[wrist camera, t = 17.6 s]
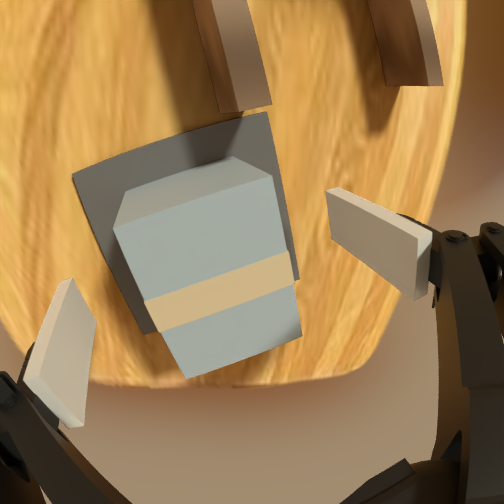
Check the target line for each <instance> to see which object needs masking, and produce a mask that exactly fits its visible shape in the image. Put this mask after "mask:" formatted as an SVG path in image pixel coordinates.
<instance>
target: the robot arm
mask: <svg viewBox="0 0 504 504" xmlns="http://www.w3.org/2000/svg"><path fill="white" fill-rule="evenodd" d="M325 192H326V199H327V206H328V214H329V222H330V230H331V238H332V240H334V241H335V242H337V243H338V244H339V245H341V246H342V247H343V248H345V249H346V250H347V251H349V252H350V253H351V254H353V255H354V256H355V257H357V258H358V259H359V260H361V261H362V262H363V263H365V264H366V265H367V266H369V267H370V268H371V269H373V270H374V271H375V272H377V273H378V274H379V275H380V276H382V277H383V278H384V279H386V280H387V281H388V282H390V283H391V284H392V285H393V286H395V287H396V288H397V289H398V290H400V291H401V292H402V293H404V294H405V295H406V296H407V297H409V298H410V299H411V300H412V301H416V300H417V299H419V298H421V297H422V296H424V295H426V294H427V291H428V282H429V281H430V282H431V283H432V284H434V285H435V289H434V297H433V304H432V308H434V307H435V309H436V320H437V334H438V358H439V399H438V423H437V424H438V425H437V436H436V442H435V445H434V449H433V452H432V457H431V460H427V461H421V462H417V463H413V464H409V463H408V462H407V460H406V459H405V458H404V459H403V460H401V461H399V462H398V463H396V464H395V465H393V466H392V467H390V468H388V469H386V470H385V471H383V472H381V473H379V474H378V475H376V476H374V477H373V478H371V479H369V480H368V481H366V482H365V483H364V484H363V485H362V486H361V487H359V488H358V489H357V490H356V491H355V492H354V493H353V494H351V495H350V496H349V497H347V498H346V499H345V500H344V501H342V502H341V503H340V504H504V344H503V339H502V336H503V338H504V226H502V225H500V224H498V223H494V222H489V223H488V222H487V223H483V224H482V225H481V227H480V234H479V236H475V237H469V236H468V235H467V234H466V233H464V232H461V231H456V230H448V231H445V232H442V233H440V232H438V231H437V230H435V229H433V228H431V227H429V226H427V225H425V224H422V223H421V222H419V221H415V219H413V218H411V217H409V216H406V215H402V214H397V213H394V212H392V211H390V210H388V209H385V208H383V207H381V206H379V205H377V204H375V203H373V202H371V201H368V200H366V199H364V198H362V197H360V196H357V195H355V194H353V193H351V192H348V191H346V190H344V189H342V188H339V187H336V188H333V189H329V190H326V191H325ZM501 270H502V276H501V275H500V273H501ZM96 324H97V321H96V319H95V318H94V316H93V314H92V313H91V311H90V309H89V307H88V306H87V304H86V302H85V300H84V298H83V296H82V295H81V293H80V291H79V289H78V287H77V285H76V283H75V281H74V280H73V278H69V279H67V280H64V281H62V282H60V283H59V285H58V287H57V290H56V292H55V294H54V296H53V299H52V301H51V303H50V306H49V308H48V311H47V313H46V316H45V318H44V321H43V323H42V326H41V328H40V331H39V334H38V336H37V339H36V342H34V343H33V344H32V346H31V347H30V348H29V350H28V352H27V354H26V357H25V361H24V363H23V366H22V367H23V368H22V369H21V372H20V375H19V378H18V381H17V384H16V383H15V382H14V381H13V379H12V378H11V377H10V376H9V374H8V373H7V372H5V371H1V372H0V504H46V502H45V500H44V497H43V494H42V491H41V489H40V487H41V488H42V490H43V491H44V493H45V494H46V495H47V497H48V498H49V500H50V501H51V503H52V504H132V503H131V502H130V501H129V500H128V499H127V498H125V497H124V496H123V495H122V494H121V493H120V492H119V491H118V490H117V489H116V488H114V487H113V486H112V485H111V484H110V483H109V482H108V481H107V480H106V479H105V478H104V477H103V476H102V475H101V474H100V473H99V472H98V471H97V470H96V469H95V468H94V467H93V466H92V465H91V464H90V463H89V461H88V460H86V458H85V457H84V456H83V455H82V454H81V453H80V452H79V451H78V449H77V448H76V447H75V446H74V445H73V444H72V443H71V442H70V440H69V439H68V438H67V437H66V435H65V434H64V433H63V432H62V431H61V430H59V428H58V425H59V420H60V421H61V422H62V423H63V424H64V425H65V426H66V427H67V428H68V429H70V428H75V427H80V426H84V423H85V409H86V398H87V388H88V379H89V370H90V363H91V355H92V349H93V342H94V336H95V330H96ZM501 334H502V335H501ZM39 485H40V486H39Z"/></svg>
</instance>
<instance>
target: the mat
mask: <svg viewBox="0 0 504 504" xmlns="http://www.w3.org/2000/svg"><path fill="white" fill-rule="evenodd" d="M232 156H233V157H235V158H237V159H239V160H241V161H243V162H246V163H248V164H250V165H252V166H254V167H256V168H258V169H260V170H262V171H264V172H266V173H268V174H270V175H272V178H273V183H274V188H275V192H276V197H277V202H278V207H279V212H280V217H281V222H282V227H283V232H284V237H285V242H286V248H287V250H288V251H289V255H290V260H291V266H292V271H293V277H294V281H296V280H299V279H300V277H299V272H298V266H297V260H296V254H295V249H294V243H293V237H292V232H291V227H290V221H289V216H288V211H287V205H286V200H285V195H284V190H283V185H282V180H281V175H280V170H279V165H278V160H277V156H276V151H275V146H274V141H273V137H272V132H271V128H270V123H269V118H268V114H267V112H262V113H257V114H253V115H249V116H244V117H240V118H236V119H232V120H228V121H224V122H220V123H217V124H213V125H209V126H206V127H202V128H199V129H195V130H192V131H188V132H185V133H182V134H178V135H175V136H172V137H169V138H166V139H163V140H160V141H157V142H154V143H151V144H148V145H145V146H142V147H139V148H136V149H134V150H131V151H128V152H125V153H123V154H120V155H117V156H115V157H112V158H109V159H107V160H104V161H102V162H99V163H97V164H94V165H92V166H90V167H87V168H85V169H82V170H80V171H78V172H75V173H73V174H72V176H73V179H74V182H75V185H76V188H77V190H78V193H79V196H80V198H81V201H82V204H83V206H84V209H85V211H86V214H87V216H88V219H89V221H90V224H91V226H92V229H93V231H94V233H95V236H96V238H97V241H98V243H99V245H100V247H101V250H102V252H103V254H104V256H105V259H106V261H107V263H108V265H109V267H110V270H111V272H112V274H113V276H114V278H115V280H116V282H117V284H118V286H119V288H120V290H121V292H122V294H123V296H124V298H125V300H126V302H127V304H128V306H129V308H130V310H131V312H132V314H133V316H134V318H135V320H136V321H137V323H138V325H139V327H140V329H141V331H142V332H143V334H144V335H145V334H148V333H151V332H154V331H157V328H156V326H155V324H154V322H153V320H152V318H151V316H150V314H149V312H148V310H147V308H146V306H145V304H144V298H143V296H142V294H141V292H140V290H139V288H138V286H137V283H136V281H135V279H134V277H133V275H132V272H131V270H130V268H129V266H128V263H127V261H126V259H125V257H124V254H123V252H122V250H121V247H120V245H119V242H118V240H117V238H116V235H115V233H114V230H113V226H114V223H115V220H116V217H117V214H118V211H119V209H120V206H121V203H122V200H123V197H124V194H125V192H126V191H128V190H130V189H133V188H136V187H139V186H141V185H144V184H147V183H150V182H153V181H156V180H158V179H161V178H164V177H167V176H170V175H173V174H176V173H179V172H182V171H185V170H189V169H192V168H195V167H198V166H201V165H205V164H208V163H211V162H214V161H218V160H221V159H225V158H228V157H232Z"/></svg>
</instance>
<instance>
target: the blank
mask: <svg viewBox="0 0 504 504" xmlns="http://www.w3.org/2000/svg"><path fill="white" fill-rule="evenodd" d="M113 230H114V233H115V235H116V238H117V240H118V242H119V245H120V247H121V250H122V252H123V254H124V257H125V259H126V261H127V263H128V266H129V268H130V270H131V272H132V275H133V277H134V279H135V281H136V283H137V286H138V288H139V290H140V292H141V294H142V296H143V298H144V304H145V306H146V308H147V310H148V312H149V314H150V316H151V318H152V320H153V322H154V324H155V326H156V328H157V330H158V332H159V333H160V332H161V334H162V336H163V338H164V340H165V342H166V344H167V346H168V347H169V349H170V351H171V353H172V355H173V357H174V358H175V360H176V362H177V364H178V366H179V367H180V369H181V371H182V373H183V375H184V376H185V378H186V379H189V378H192V377H195V376H198V375H201V374H204V373H207V372H210V371H213V370H216V369H219V368H221V367H224V366H227V365H230V364H233V363H235V362H238V361H241V360H244V359H246V358H249V357H252V356H254V355H257V354H259V353H262V352H265V351H267V350H270V349H272V348H275V347H277V346H280V345H282V344H285V343H287V342H289V341H292V340H294V339H297V338H299V337H301V336H302V331H301V325H300V319H299V313H298V307H297V302H296V296H295V291H294V285H293V284H295V282H294V277H293V271H292V266H291V260H290V255H289V251H288V250H287V248H286V242H285V237H284V232H283V227H282V222H281V217H280V212H279V207H278V202H277V197H276V192H275V188H274V183H273V178H272V175H270V174H268V173H266V172H264V171H262V170H260V169H258V168H256V167H254V166H252V165H250V164H248V163H246V162H243V161H241V160H239V159H237V158H235V157H233V156H232V157H228V158H225V159H221V160H218V161H214V162H211V163H208V164H205V165H201V166H198V167H195V168H192V169H189V170H185V171H182V172H179V173H176V174H173V175H170V176H167V177H164V178H161V179H158V180H156V181H153V182H150V183H147V184H144V185H141V186H139V187H136V188H133V189H130V190H128V191H126V192H125V194H124V197H123V200H122V203H121V206H120V209H119V211H118V214H117V217H116V220H115V223H114V226H113Z"/></svg>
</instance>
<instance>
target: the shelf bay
mask: <svg viewBox="0 0 504 504" xmlns="http://www.w3.org/2000/svg"><path fill="white" fill-rule="evenodd" d="M191 1H192V5H193V9H194V13H195V17H196V21H197V25H198V29H199V33H200V36H201V40H202V44H203V48H204V52H205V56H206V60H207V64H208V68H209V72H210V76H211V80H212V84H213V88H214V92H215V96H216V100H217V104H218V108H219V112H220V113H231V112H241V111H245V110H249V109H254V108H258V107H263V106H268V105H272V100H271V96H270V92H269V87H268V83H267V79H266V75H265V70H264V66H263V62H262V58H261V54H260V50H259V46H258V42H257V38H256V34H255V30H254V26H253V22H252V19H251V15H250V11H249V7H248V4H247V0H191ZM367 2H368V6H369V10H370V13H371V17H372V21H373V25H374V29H375V33H376V37H377V42H378V46H379V51H380V55H381V60H382V65H383V71H384V76H385V82H386V86H443V79H442V72H441V66H440V60H439V55H438V50H437V45H436V40H435V36H434V31H433V27H432V23H431V19H430V15H429V11H428V7H427V4H426V0H367Z"/></svg>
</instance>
